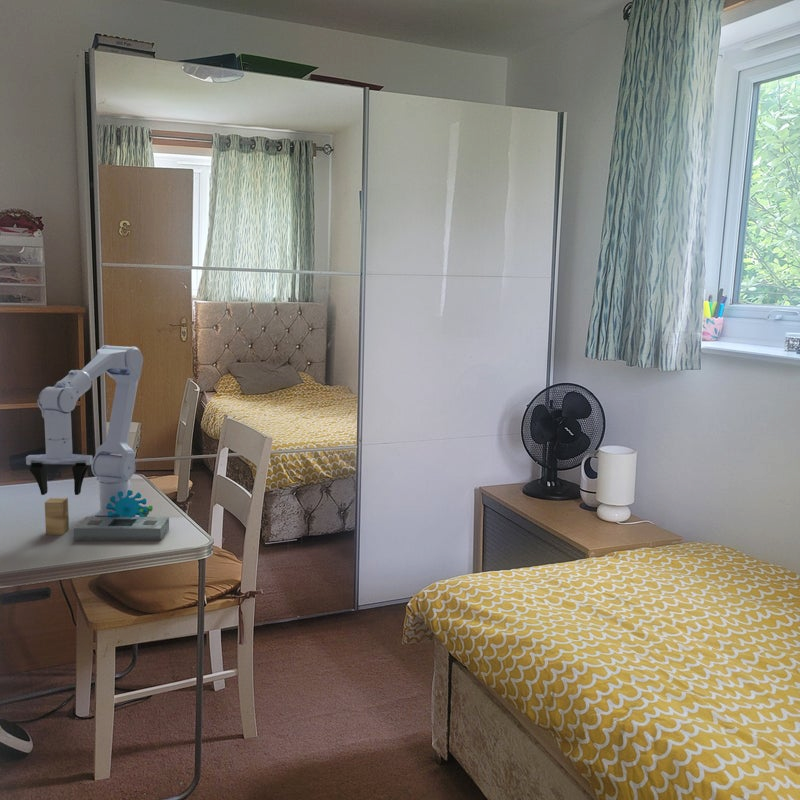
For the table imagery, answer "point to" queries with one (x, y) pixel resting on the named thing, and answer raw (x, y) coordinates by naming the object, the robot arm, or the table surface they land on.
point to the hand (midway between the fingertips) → (61, 493)
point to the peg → (56, 516)
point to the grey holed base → (121, 529)
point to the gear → (128, 506)
